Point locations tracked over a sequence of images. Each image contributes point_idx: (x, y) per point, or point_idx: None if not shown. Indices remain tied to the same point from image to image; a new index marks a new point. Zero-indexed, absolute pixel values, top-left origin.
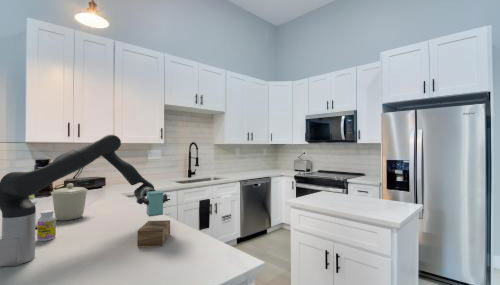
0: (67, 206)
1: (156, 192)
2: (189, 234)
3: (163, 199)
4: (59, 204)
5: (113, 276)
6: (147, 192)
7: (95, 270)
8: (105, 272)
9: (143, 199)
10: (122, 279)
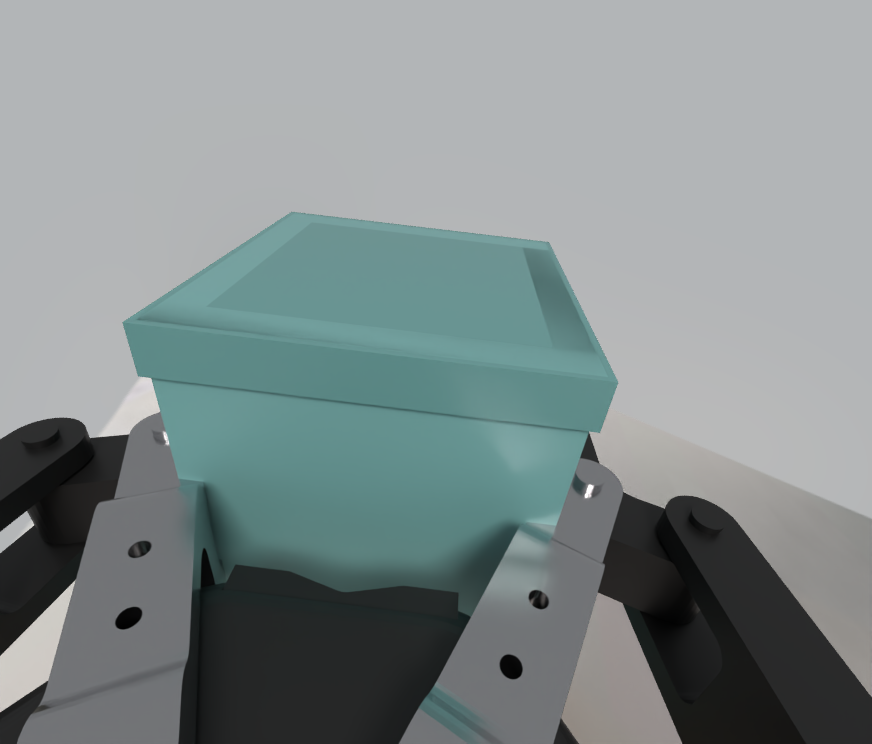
0: None
1: (383, 249)
2: (23, 690)
3: None
4: None
5: (617, 426)
6: (578, 314)
7: (710, 498)
8: (657, 463)
9: (630, 535)
10: None
